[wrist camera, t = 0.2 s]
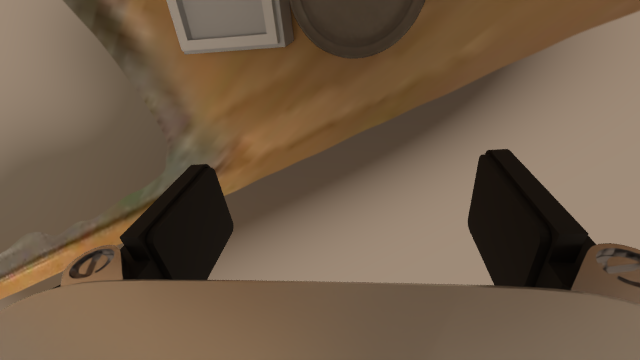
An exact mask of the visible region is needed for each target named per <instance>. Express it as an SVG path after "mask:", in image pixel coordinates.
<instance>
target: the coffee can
mask: <svg viewBox="0 0 640 360" xmlns="http://www.w3.org/2000/svg"><path fill="white" fill-rule="evenodd" d="M289 2H290V5H291V8H292V11H293V14H294V16H295V19H296V20H297V22H298V24H299V26H300V28H301V29H302V31H303V32H304V33H305V34H306V36H307V37H308V38H309V39H310V40H311V41H312V42H313V43H314V44H315V45H317V46H318V47H319V48H321V49H322V50H324V51H326V52H328V53H330V54H333V55H336V56H339V57H343V58H364V57H369V56H372V55H375V54H377V53H380V52H382V51H384V50H386V49H388V48H389V47H391V46H392V45H394V44H395V43H396V42H397V41H399V40H400V39H401V38H402V37H403V36H404V35H405V34H406V33H407V31H408V30H409V29H410V27H411V26H412V25H413V23H414V22H415V20H416V19H417V17H418V15H419V13H420V11H421V9H422V7H423V5H424V2H425V0H289Z"/></svg>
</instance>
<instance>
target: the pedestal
mask: <svg viewBox="0 0 640 360" xmlns="http://www.w3.org/2000/svg"><path fill="white" fill-rule="evenodd" d="M167 3H168V7H169V10H170V13H171V17H172V20H173V23H174V27H175V30H176V33H177V36H178V40H179V43H180V46H181V50H182V51H184V54H196V53H209V52H222V51H236V50H249V49H262V48H276V47H286V46H287V45H288V44H290V43H291V42H293V41H294V37H293V29H292V20H291V12H290V3H289V0H167Z"/></svg>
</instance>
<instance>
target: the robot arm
mask: <svg viewBox="0 0 640 360" xmlns="http://www.w3.org/2000/svg"><path fill="white" fill-rule="evenodd" d="M468 227H469V230H470V233H471V234H472V237H473V239H474V241H475V243H476V245H477V248H478V250H479V252H480V254H481V256H482V259H483V261H484V263H485V265H486V268H487V270H488V272H489V274H490V276H491V278H492V281H493V283H494V285H455V284H412V283H369V282H367V283H366V282H316V281H256V280H255V281H254V280H207V279H208V277H209V275H210V273H211V271H212V269H213V267H214V265H215V264H216V262H217V260H218V258H219V256H220V254H221V252H222V251H223V249H224V247H225V245H226V243H227V241H228V239H229V238H230V236H231V234H232V232H233V221H232V219H231V216H230V213H229V210H228V207H227V204H226V201H225V199H224V196H223V193H222V190H221V187H220V184H219V181H218V178H217V175H216V173H215V170H214V169H213V168H210V166H209V165H207V164H202V165H191V166H190V167H189V168H188V169H187V170H186V171H185V172H184V173H183V174H182V175H181V176H180V177H179V178H178V179H177V180H176V181H175V182H174V183H173V184H172V185H171V186H170V187H169V188H168V189H167V190H166V191H165V192H164V193H163V194H162V195H161V196H160V197H159V198H158V199H157V200H156V201H155V202H154V203H153V204H152V205H151V206H150V207H149V208H148V209H147V210H146V211H145V212H144V213H143V214H142V215H141V216H140V217H139V218H138V219H137V220H136V221H135V222H134V223H133V224H132V225H131V226H130V227H129V228H128V229H127V230H126V231H125V232H124V233H123V234H122V235H121V236H120V239H121V241H122V242H123V244H124V246H123V247H122V248H121V249H119V247H117V246H115V245H105V246H100V247H97V248H94V249H92V250H90V251H88V252H85V253H84V254H82V255H81V256H79V257H77V258H76V259H75V260H74V261H72V262H71V263H70V264H69V265H68V266H67V268H66V269H65V270H64V273H63V275H62V280H61V285H59V286H57V287H55V288H53V289H50V290H47V291H44V292H40V293H37V294H35V295H32V296H29V297H27V298H24V299H22V300H20V301H17V302H15V303H13V304H12V305H9V306H8V307H6V308H4V309H3V310H1V311H0V360H640V250H638V249H636V248H632V247H629V246H625V245H619V244H611V243H605V244H598V245H596V244H595V243H594V242H593V241H592V240H591V238H590V237H589V236H588V233H587V232H586V231H585V230H584V229H583V227H581V225H580V224H579V223H578V222H577V221H576V220H575V219H574V218H573V217H572V216H571V215H570V214H569V213H568V212H567V211H566V210H565V208H564V207H563V206H562V205H561V204H560V203H559V202H558V201H557V200H556V199H555V198H554V197H553V196H552V195H551V194H550V193H549V191H548V190H547V189H546V188H545V187H544V186H543V185H542V184H541V183H540V182H539V181H538V180H537V179H536V178H535V177H534V176H533V175H532V174H531V172H530V171H529V170H528V169H527V168H526V167H525V166H524V165H523V164H522V163H521V162H520V161H519V160H518V159H517V158H516V157H515V156H514V155H513V153H512V152H511V151H510V150H508V149H502V150H488V151H487V152H486V153H485V155H481V156H480V157H479V161H478V167H477V173H476V178H475V184H474V189H473V194H472V200H471V206H470V211H469V216H468Z"/></svg>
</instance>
